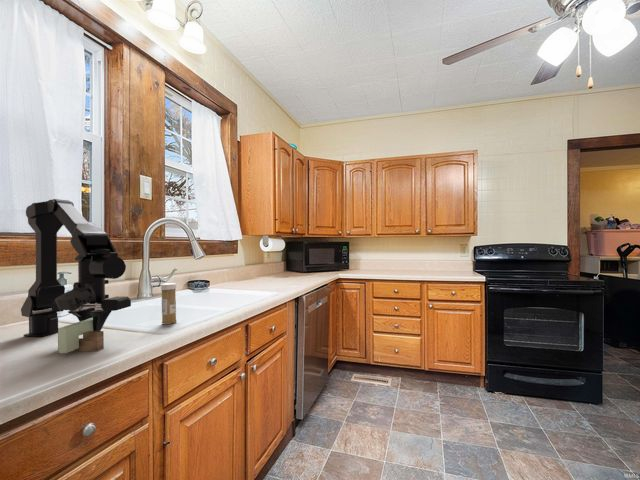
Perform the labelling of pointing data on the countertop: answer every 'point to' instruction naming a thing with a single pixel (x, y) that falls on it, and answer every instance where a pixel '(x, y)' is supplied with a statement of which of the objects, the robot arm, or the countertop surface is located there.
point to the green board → (73, 335)
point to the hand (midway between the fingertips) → (92, 335)
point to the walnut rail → (90, 341)
